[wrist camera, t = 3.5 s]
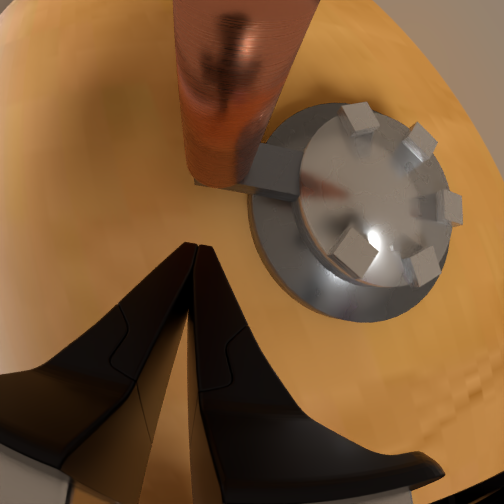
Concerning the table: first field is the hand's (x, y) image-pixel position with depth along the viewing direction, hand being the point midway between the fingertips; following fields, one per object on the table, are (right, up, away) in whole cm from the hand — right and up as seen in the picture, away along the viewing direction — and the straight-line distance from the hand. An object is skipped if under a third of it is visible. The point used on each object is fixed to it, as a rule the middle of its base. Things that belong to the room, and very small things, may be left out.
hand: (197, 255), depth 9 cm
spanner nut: (+6, +3, +8) cm, 10 cm away
